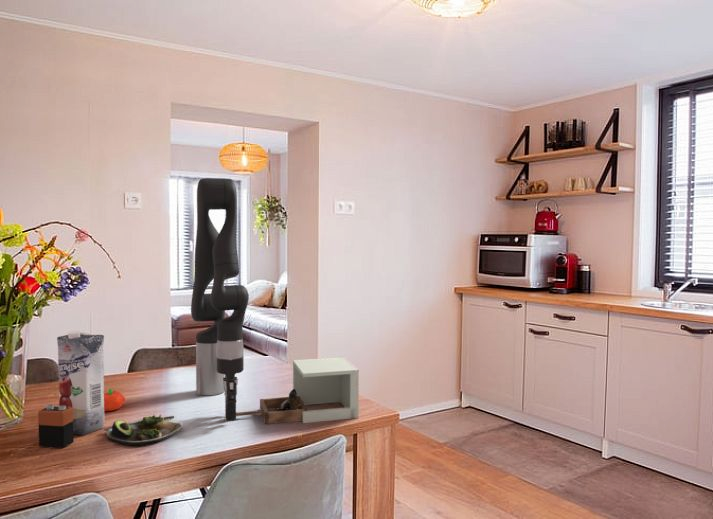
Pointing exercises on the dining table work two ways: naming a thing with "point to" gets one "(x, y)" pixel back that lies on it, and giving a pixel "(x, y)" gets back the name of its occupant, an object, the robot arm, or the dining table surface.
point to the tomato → (113, 400)
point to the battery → (55, 426)
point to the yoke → (272, 416)
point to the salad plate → (141, 431)
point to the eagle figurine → (290, 402)
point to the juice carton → (82, 379)
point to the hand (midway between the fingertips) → (230, 412)
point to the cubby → (327, 387)
